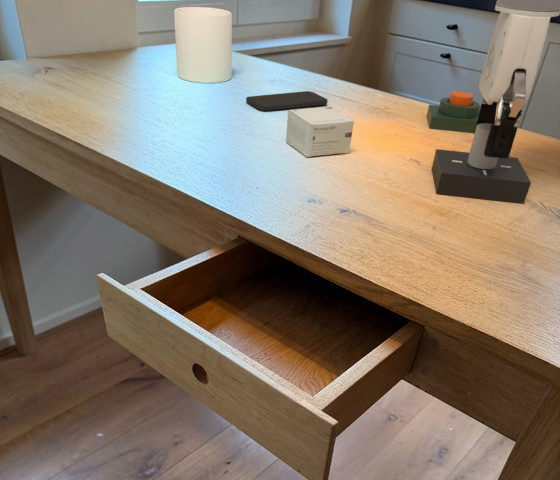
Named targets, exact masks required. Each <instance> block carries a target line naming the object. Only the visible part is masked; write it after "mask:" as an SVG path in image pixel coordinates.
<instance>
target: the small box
mask: <svg viewBox="0 0 560 480" xmlns="http://www.w3.org/2000/svg"><path fill="white" fill-rule="evenodd" d="M354 123H355V121H354V119H352V118H351V117H350V116H347V115H345V114H344V113H342V112H340V111H338V110H336V108H333V107H331V106H322V107H304V108H294V109H287V118H286V133H285V142H286V143H287V144H288V145H289V146H291V147H292V148H293V149H295V150H296V151H298V152H299V153H301V154H302V155H303V156H304V157H305V158H310V157H318V156H327V155H340V154H345V155H346V154H350V152H351V151H350V150H351V143H352V137H353V131H354V130H353V129H354Z"/></svg>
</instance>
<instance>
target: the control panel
mask: <svg viewBox="0 0 560 480" xmlns="http://www.w3.org/2000/svg"><path fill="white" fill-rule="evenodd" d="M469 153H470V152H469V151H468V152H466V151H458V150H449V149H435V152H434V155H433V161H432V165H431V173H432V177H433V183H434V189H435V193H436V195H441V196H443V195H444V196H452V197H459V198H460V197H461V198H469V199H479V200H489V201H497V202H505V203H514V204H525V201H526V198H527V195H528V192H529V190H530V187H531V184H532V182H531V180H530V178H529V176H528V174H527V172H526V171H525V169H524V167H523V165H522V164H521V161H520V160H519V158H518V157H514V156H509V157H508V158H498V161H497V164H496V167H495V168H494V169H479V168H475V167H472V166H470V165H469V164H468V163H467V160H468V157H469Z"/></svg>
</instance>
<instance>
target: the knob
mask: <svg viewBox="0 0 560 480" xmlns="http://www.w3.org/2000/svg"><path fill="white" fill-rule="evenodd" d="M490 128H491V124H488V123H483V124H478V125H477V127H476V131H475V133H473V138H472V141H471V146H470V149H469V152H468V153H469V157H468V160H467V163H468V164H469V165H470V166H472V167H475V168H479V169H494V168H495V167H496V164H497V161H498V158H495V157H486V156H485V155H484V150H485V147H486V143H487V139H488V135H489V132H490Z"/></svg>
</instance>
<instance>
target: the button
mask: <svg viewBox="0 0 560 480" xmlns="http://www.w3.org/2000/svg"><path fill="white" fill-rule="evenodd" d="M449 98H450V100H449V103H451V104H454V105H458V106H471V104H472V100H473V101H474V94H472V93H470V92H466V91H452V92H450V96H449Z"/></svg>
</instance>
